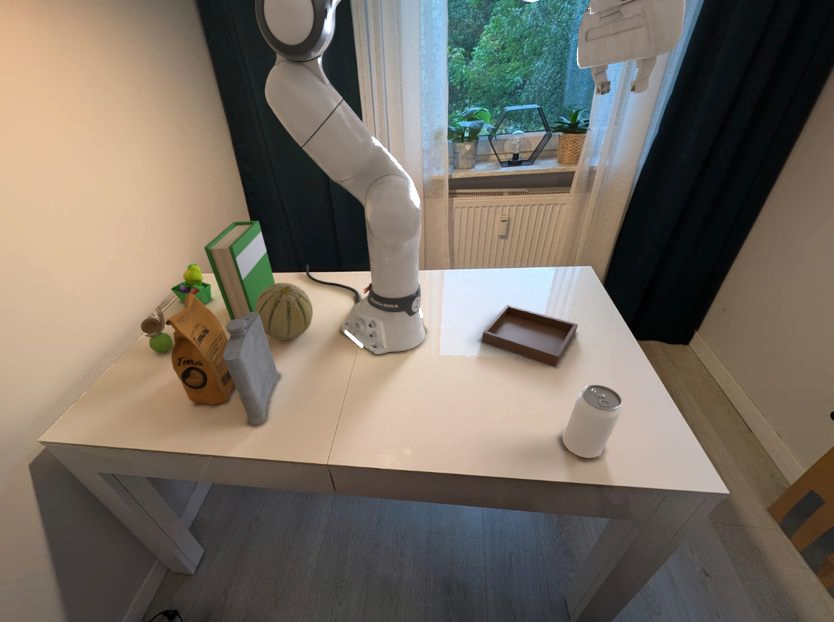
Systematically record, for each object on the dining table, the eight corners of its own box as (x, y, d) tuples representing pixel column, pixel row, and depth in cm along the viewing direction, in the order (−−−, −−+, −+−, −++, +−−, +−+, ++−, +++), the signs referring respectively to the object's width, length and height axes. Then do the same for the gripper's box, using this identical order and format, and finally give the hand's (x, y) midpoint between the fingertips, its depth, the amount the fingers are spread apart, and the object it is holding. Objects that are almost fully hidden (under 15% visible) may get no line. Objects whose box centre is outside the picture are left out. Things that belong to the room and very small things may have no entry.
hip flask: (263, 424, 77) (233, 348, 65) (244, 425, 78) (210, 349, 65) (279, 373, 90) (257, 300, 78) (263, 373, 90) (238, 302, 78)
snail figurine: (182, 347, 102) (164, 309, 94) (159, 359, 98) (138, 321, 91) (174, 340, 105) (155, 303, 97) (151, 351, 101) (130, 314, 94)
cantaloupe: (267, 322, 108) (252, 274, 99) (317, 316, 108) (308, 268, 99) (259, 354, 96) (241, 303, 87) (316, 347, 97) (305, 297, 87)
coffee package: (184, 407, 83) (139, 325, 70) (208, 369, 93) (171, 291, 80) (227, 407, 82) (189, 324, 69) (246, 369, 92) (216, 290, 78)
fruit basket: (175, 302, 122) (160, 270, 115) (197, 290, 128) (185, 259, 121) (198, 310, 117) (184, 277, 110) (220, 297, 122) (208, 265, 115)
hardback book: (258, 327, 106) (232, 246, 91) (233, 327, 107) (204, 247, 93) (278, 295, 120) (258, 220, 105) (256, 295, 121) (233, 221, 106)
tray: (481, 341, 93) (482, 332, 91) (505, 313, 102) (506, 304, 100) (555, 366, 84) (558, 356, 82) (575, 333, 92) (578, 324, 91)
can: (594, 430, 70) (615, 383, 62) (608, 460, 65) (632, 412, 57) (557, 429, 70) (573, 382, 63) (568, 458, 65) (587, 411, 58)
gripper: (566, 10, 66) (568, 101, 73) (651, -25, 48) (642, 98, 56) (603, -4, 65) (601, 89, 72) (701, -45, 48) (686, 82, 55)
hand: (619, 93), depth 64 cm, fingers open, 8 cm apart
